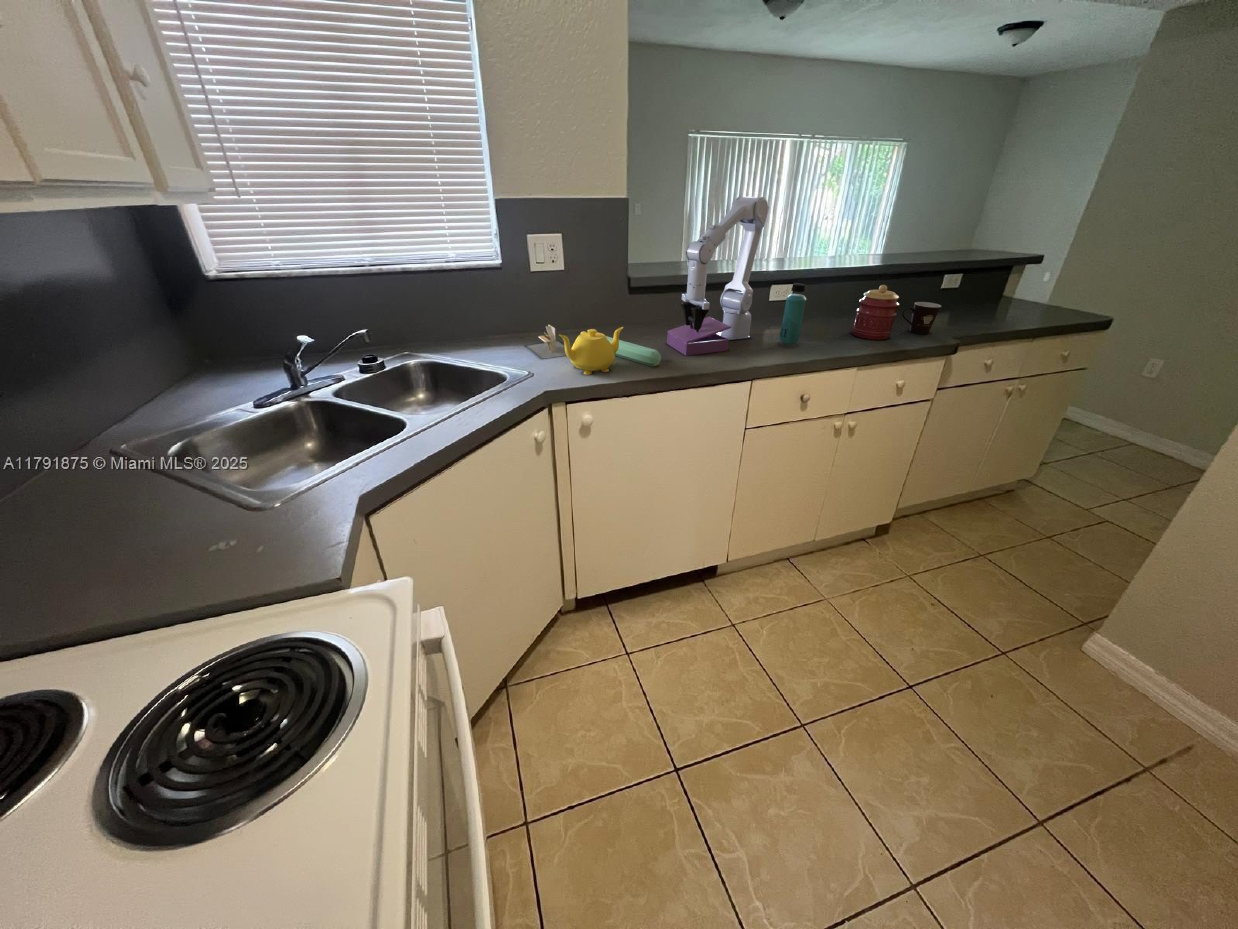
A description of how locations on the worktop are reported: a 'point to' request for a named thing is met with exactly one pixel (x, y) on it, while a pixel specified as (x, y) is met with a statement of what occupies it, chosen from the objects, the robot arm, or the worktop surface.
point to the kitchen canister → (876, 314)
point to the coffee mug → (922, 317)
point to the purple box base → (699, 344)
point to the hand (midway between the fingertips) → (692, 327)
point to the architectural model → (548, 345)
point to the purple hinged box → (707, 329)
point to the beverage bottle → (793, 315)
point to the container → (637, 353)
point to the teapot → (592, 350)
